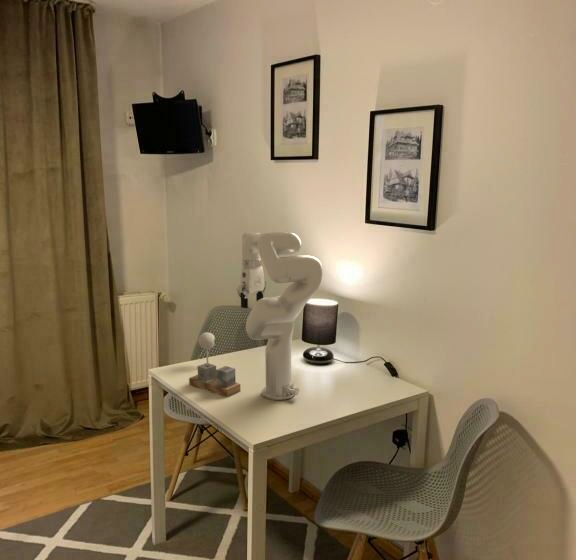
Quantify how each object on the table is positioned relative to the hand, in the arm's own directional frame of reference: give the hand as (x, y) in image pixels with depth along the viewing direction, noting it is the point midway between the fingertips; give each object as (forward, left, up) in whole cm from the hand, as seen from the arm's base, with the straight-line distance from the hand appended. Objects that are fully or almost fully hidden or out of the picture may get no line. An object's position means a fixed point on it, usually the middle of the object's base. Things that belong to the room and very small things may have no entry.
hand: (252, 305), depth 227 cm
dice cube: (+5, +22, -25) cm, 34 cm away
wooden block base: (+1, +22, -28) cm, 36 cm away
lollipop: (+20, +6, -28) cm, 35 cm away
